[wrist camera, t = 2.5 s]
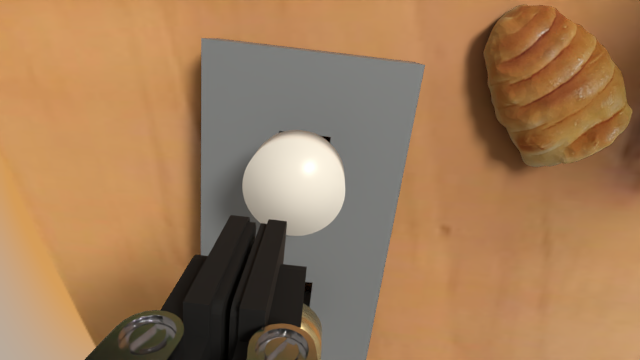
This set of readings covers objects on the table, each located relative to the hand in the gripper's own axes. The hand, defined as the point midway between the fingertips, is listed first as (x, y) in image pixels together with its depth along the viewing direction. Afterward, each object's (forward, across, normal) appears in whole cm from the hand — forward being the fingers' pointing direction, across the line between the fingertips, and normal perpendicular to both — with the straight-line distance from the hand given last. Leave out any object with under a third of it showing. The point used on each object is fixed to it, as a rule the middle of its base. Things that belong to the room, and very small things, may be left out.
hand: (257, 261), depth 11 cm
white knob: (+12, -1, 0) cm, 12 cm away
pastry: (+15, -15, -5) cm, 21 cm away
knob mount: (+14, -1, +10) cm, 18 cm away
